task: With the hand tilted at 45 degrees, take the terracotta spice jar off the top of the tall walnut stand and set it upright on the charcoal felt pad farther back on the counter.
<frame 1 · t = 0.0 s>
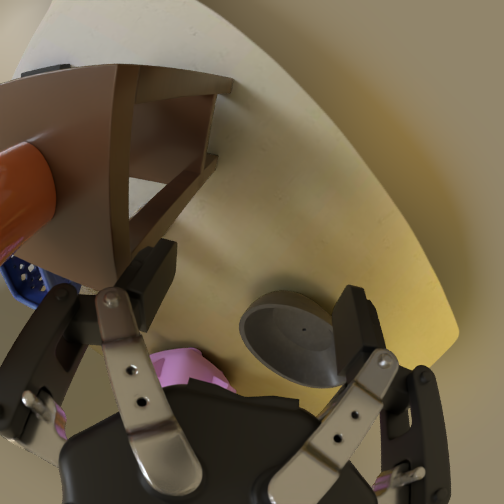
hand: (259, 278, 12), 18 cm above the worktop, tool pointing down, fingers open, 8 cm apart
flower pot: (67, 231, 36), on the worktop
spice jar: (28, 185, 9), point 20 cm above the worktop, touching stand
stand: (178, 117, 25), on the worktop
bowl: (304, 320, 39), on the worktop
teapot: (191, 364, 50), on the worktop
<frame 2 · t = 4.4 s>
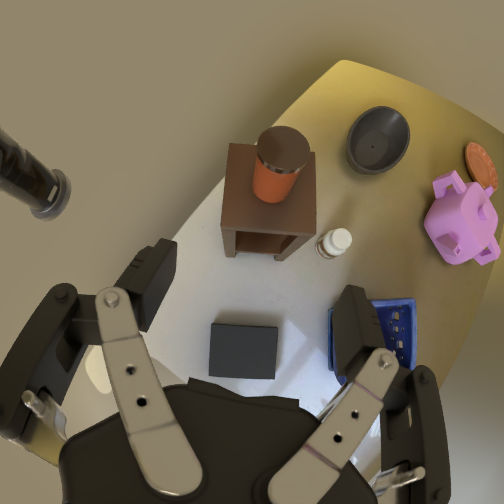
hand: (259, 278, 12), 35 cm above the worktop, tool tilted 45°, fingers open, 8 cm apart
flower pot: (352, 335, 47), on the worktop
spice jar: (271, 185, 29), point 20 cm above the worktop, touching stand
saucer: (477, 170, 57), on the worktop
pad: (242, 350, 45), on the worktop
stand: (256, 231, 49), on the worktop
bowl: (369, 150, 54), on the worktop
teapot: (444, 229, 52), on the worktop
pill bottle: (326, 248, 49), on the worktop
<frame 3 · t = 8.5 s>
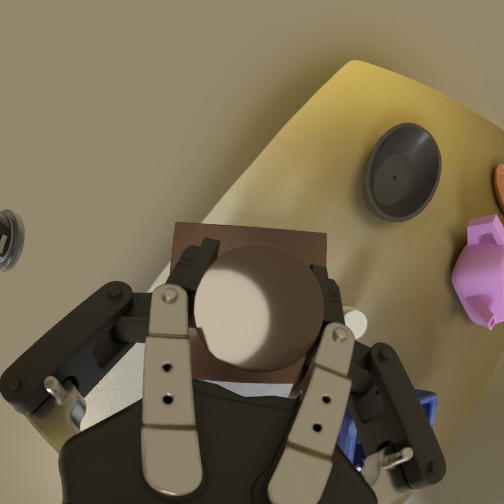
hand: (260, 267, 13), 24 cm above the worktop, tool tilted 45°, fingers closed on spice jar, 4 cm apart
flower pot: (356, 418, 34), on the worktop
spice jar: (247, 305, 17), point 20 cm above the worktop, touching gripper, stand
stand: (240, 303, 36), on the worktop
bowl: (389, 181, 42), on the worktop
teapot: (471, 277, 40), on the worktop
pill bottle: (331, 320, 37), on the worktop
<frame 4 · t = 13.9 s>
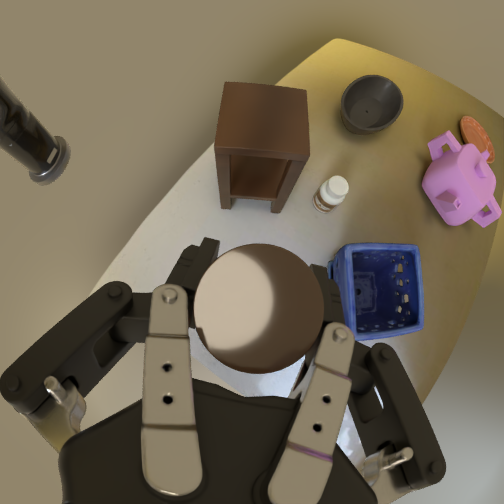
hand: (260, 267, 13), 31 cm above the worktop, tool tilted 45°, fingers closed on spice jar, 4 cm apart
flower pot: (354, 293, 45), on the worktop
spice jar: (247, 305, 17), point 27 cm above the worktop, touching gripper
saucer: (473, 142, 56), on the worktop
stand: (252, 184, 47), on the worktop
bowl: (363, 115, 52), on the worktop
teapot: (442, 193, 51), on the worktop
pill bottle: (323, 202, 48), on the worktop
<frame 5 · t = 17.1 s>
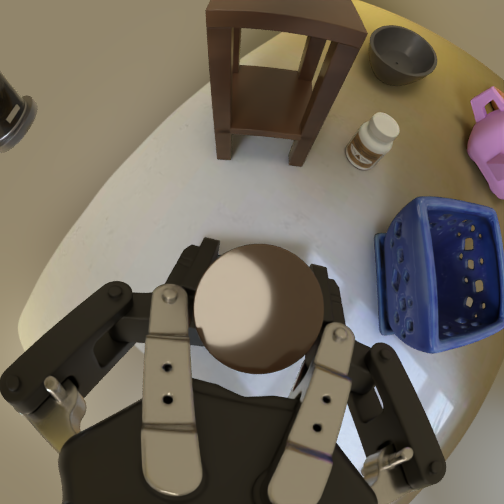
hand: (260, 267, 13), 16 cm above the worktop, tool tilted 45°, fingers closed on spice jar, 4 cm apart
flower pot: (406, 282, 30), on the worktop
spice jar: (247, 305, 17), point 11 cm above the worktop, touching gripper
stand: (261, 128, 32), on the worktop
bowl: (392, 68, 37), on the worktop
teapot: (486, 163, 35), on the worktop
pill bottle: (359, 156, 32), on the worktop
when the fingers open (6 cm above the worktop, at t = 19.7 s): spice jar stays where it is, resting on pad.
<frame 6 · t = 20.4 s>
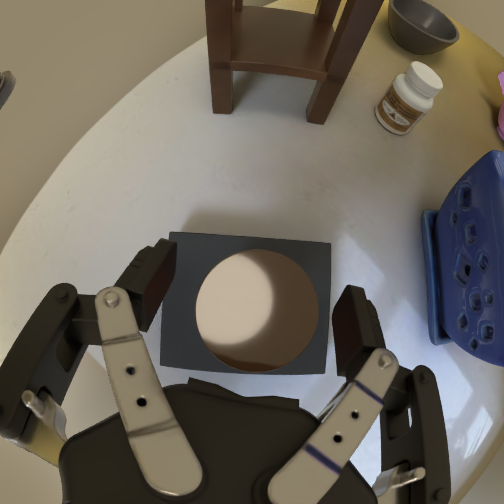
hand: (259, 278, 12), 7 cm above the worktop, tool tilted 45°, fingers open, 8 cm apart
flower pot: (455, 275, 21), on the worktop
spice jar: (247, 307, 17), point 2 cm above the worktop, touching pad
pad: (246, 305, 19), on the worktop
stand: (270, 81, 23), on the worktop
bowl: (412, 39, 28), on the worktop
pill bottle: (391, 120, 24), on the worktop
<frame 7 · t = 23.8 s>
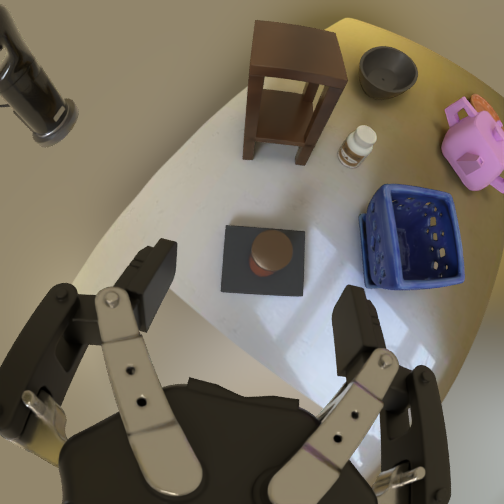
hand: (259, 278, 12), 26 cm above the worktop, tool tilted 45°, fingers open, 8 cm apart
flower pot: (385, 251, 41), on the worktop
spice jar: (264, 261, 37), point 2 cm above the worktop, touching pad
saucer: (483, 119, 51), on the worktop
pad: (262, 262, 39), on the worktop
stand: (274, 137, 43), on the worktop
bowl: (380, 84, 48), on the worktop
teapot: (460, 161, 46), on the worktop
pill bottle: (348, 158, 43), on the worktop
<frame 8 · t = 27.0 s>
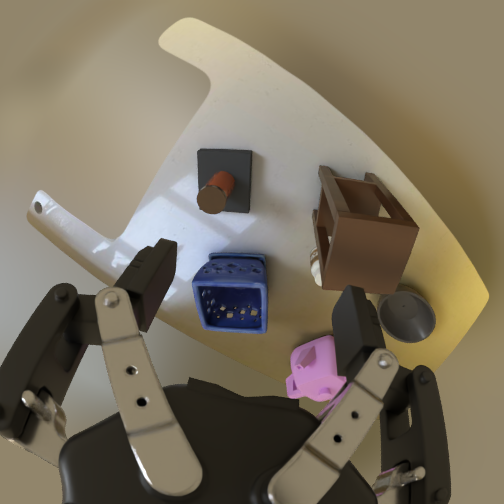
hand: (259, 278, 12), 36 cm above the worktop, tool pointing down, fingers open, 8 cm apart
flower pot: (240, 270, 58), on the worktop
spice jar: (222, 182, 46), point 2 cm above the worktop, touching pad
pad: (225, 179, 47), on the worktop
stand: (342, 195, 46), on the worktop
bowl: (401, 300, 58), on the worktop
teapot: (322, 349, 71), on the worktop
pill bottle: (320, 254, 54), on the worktop
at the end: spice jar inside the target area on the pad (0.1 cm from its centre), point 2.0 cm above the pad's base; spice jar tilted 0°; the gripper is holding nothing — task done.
